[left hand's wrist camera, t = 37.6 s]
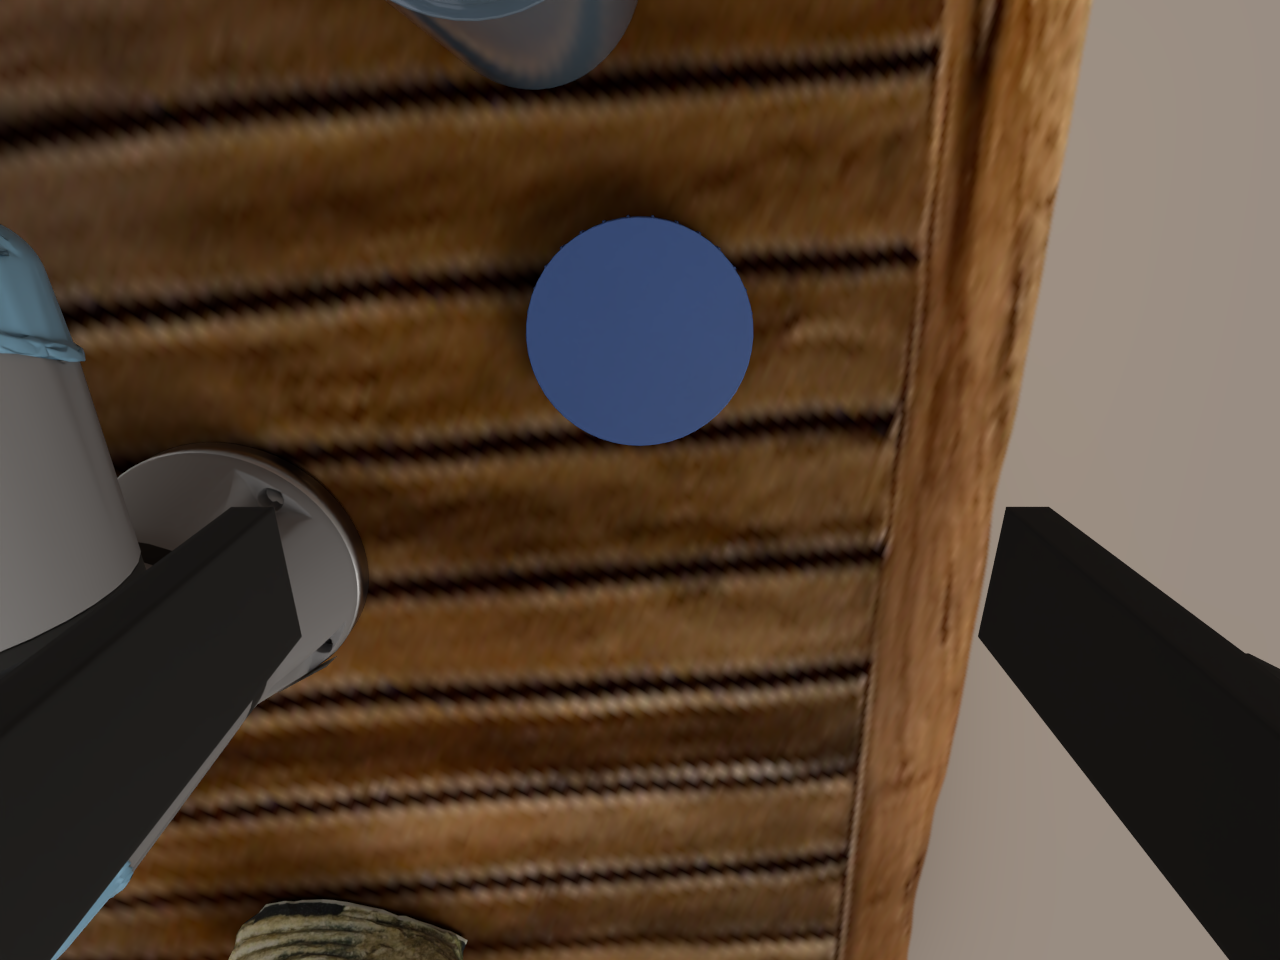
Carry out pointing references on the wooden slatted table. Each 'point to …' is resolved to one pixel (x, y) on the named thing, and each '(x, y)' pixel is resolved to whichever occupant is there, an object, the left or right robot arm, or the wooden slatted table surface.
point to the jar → (524, 35)
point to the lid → (639, 330)
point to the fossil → (341, 934)
